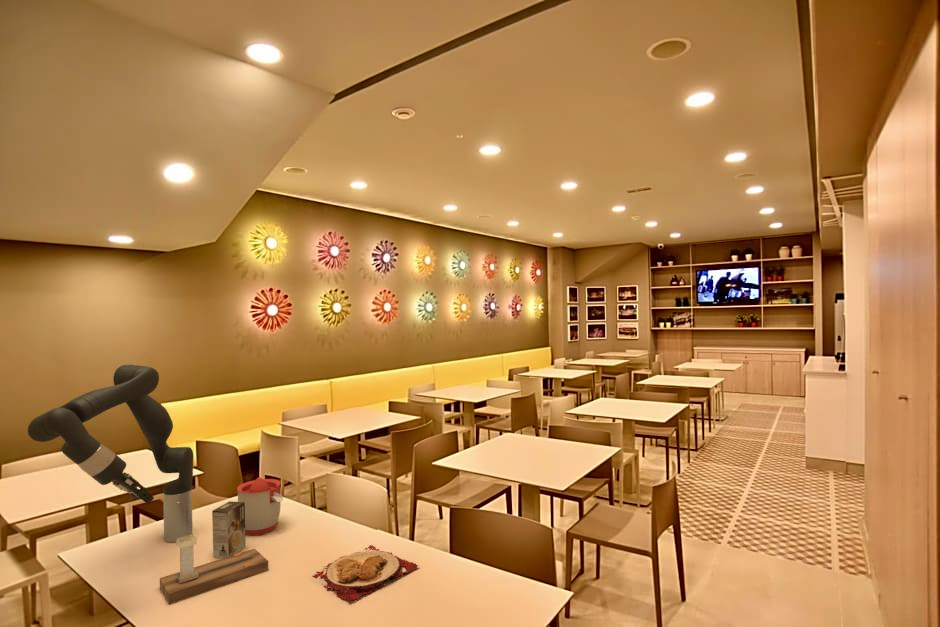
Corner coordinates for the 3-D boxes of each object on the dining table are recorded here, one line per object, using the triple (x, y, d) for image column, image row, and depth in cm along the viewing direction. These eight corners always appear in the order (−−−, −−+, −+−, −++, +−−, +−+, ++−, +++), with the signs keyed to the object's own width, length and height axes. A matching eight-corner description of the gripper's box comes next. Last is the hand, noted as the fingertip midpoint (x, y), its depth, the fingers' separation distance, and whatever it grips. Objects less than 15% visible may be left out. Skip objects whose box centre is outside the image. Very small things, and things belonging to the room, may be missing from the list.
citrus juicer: (267, 541, 184) (266, 486, 184) (227, 535, 189) (227, 482, 189) (293, 524, 199) (293, 473, 199) (256, 519, 204) (255, 469, 204)
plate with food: (419, 571, 163) (419, 560, 163) (349, 605, 143) (349, 592, 143) (371, 549, 179) (371, 539, 179) (303, 577, 159) (303, 566, 159)
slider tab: (175, 577, 153) (175, 538, 153) (193, 571, 156) (193, 533, 156) (179, 583, 149) (179, 543, 149) (198, 577, 153) (197, 538, 153)
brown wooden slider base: (159, 588, 153) (159, 577, 153) (254, 557, 172) (254, 547, 172) (169, 604, 144) (168, 592, 144) (268, 570, 163) (268, 559, 163)
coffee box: (230, 545, 181) (229, 500, 181) (246, 547, 180) (245, 501, 180) (212, 557, 172) (211, 510, 172) (228, 559, 171) (228, 511, 171)
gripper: (122, 455, 138) (166, 491, 146) (105, 450, 147) (146, 483, 155) (98, 479, 133) (143, 514, 141) (81, 471, 142) (125, 505, 150)
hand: (145, 498), depth 148 cm, fingers open, 8 cm apart
